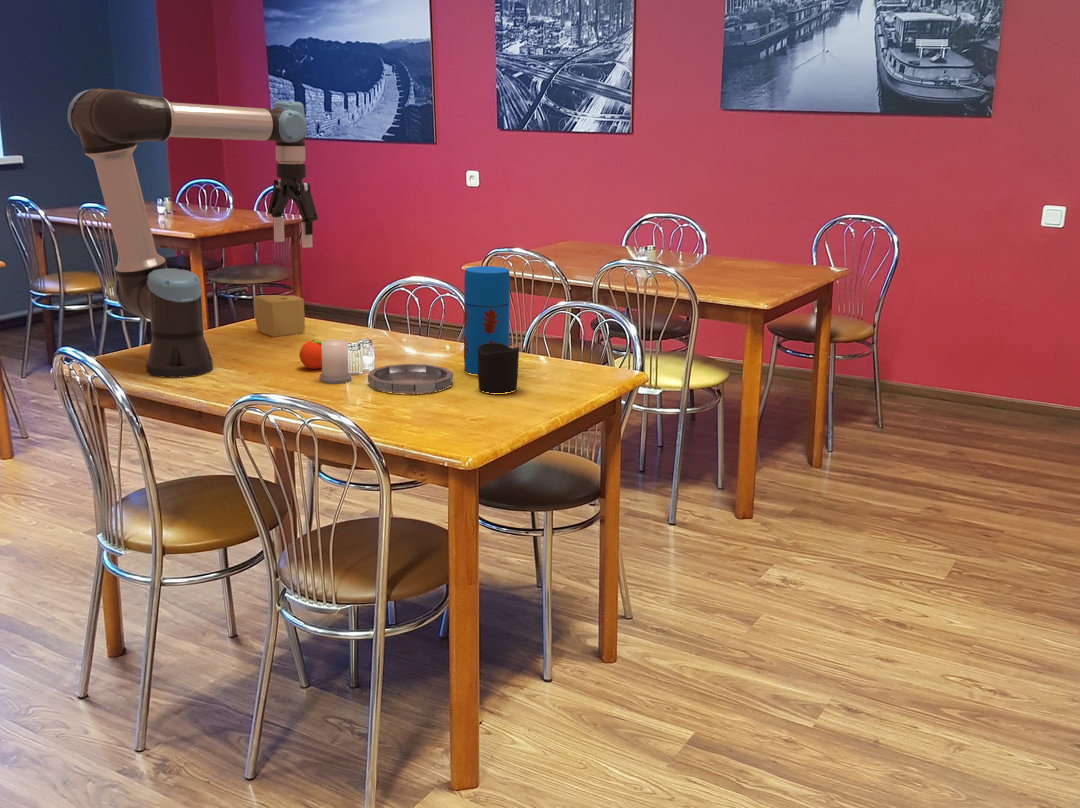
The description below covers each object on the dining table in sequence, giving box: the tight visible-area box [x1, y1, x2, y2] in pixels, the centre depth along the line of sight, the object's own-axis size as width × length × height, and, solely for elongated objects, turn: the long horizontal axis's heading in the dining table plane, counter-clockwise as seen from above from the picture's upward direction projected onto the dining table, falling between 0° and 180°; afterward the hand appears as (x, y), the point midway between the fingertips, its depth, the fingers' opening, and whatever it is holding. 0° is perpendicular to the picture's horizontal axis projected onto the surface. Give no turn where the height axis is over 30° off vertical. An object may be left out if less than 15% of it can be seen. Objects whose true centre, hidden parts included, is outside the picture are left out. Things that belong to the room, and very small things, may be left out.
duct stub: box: [319, 339, 352, 385], centre depth 256 cm, size 7×7×9 cm
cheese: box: [253, 294, 306, 338], centre depth 304 cm, size 10×11×10 cm
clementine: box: [298, 339, 322, 370], centre depth 266 cm, size 8×7×7 cm
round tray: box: [367, 363, 454, 395], centre depth 255 cm, size 19×19×2 cm
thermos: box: [463, 265, 511, 375], centre depth 264 cm, size 11×11×25 cm
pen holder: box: [477, 343, 520, 393], centre depth 250 cm, size 9×9×10 cm
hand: (293, 244), depth 292 cm, fingers open, 13 cm apart
